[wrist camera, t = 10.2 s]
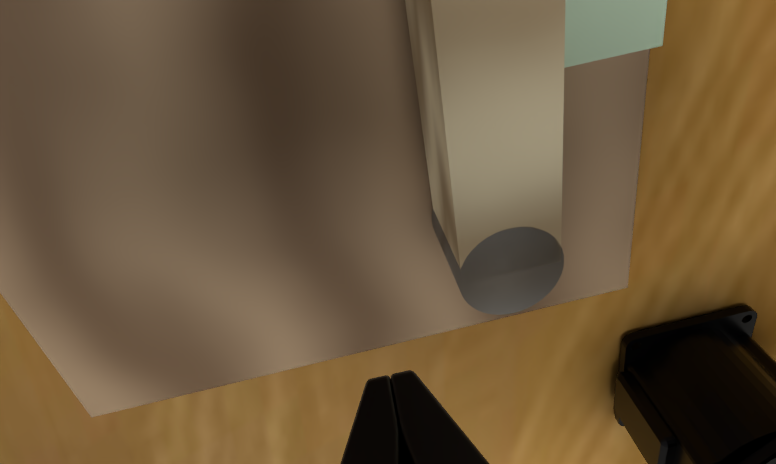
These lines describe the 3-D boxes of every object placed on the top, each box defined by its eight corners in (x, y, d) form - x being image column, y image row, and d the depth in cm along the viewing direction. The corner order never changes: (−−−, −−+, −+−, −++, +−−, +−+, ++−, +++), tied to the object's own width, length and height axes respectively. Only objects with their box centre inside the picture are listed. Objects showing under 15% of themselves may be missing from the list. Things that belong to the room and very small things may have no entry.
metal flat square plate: (660, -472, 12) (701, -510, 11) (609, 266, 24) (627, 287, 23) (-358, -283, 12) (-435, -301, 10) (101, 387, 23) (91, 417, 22)
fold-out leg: (522, 239, 20) (563, 301, 17) (436, 259, 20) (463, 324, 17) (502, -440, 11) (581, -548, 8) (343, -412, 11) (367, -514, 8)
